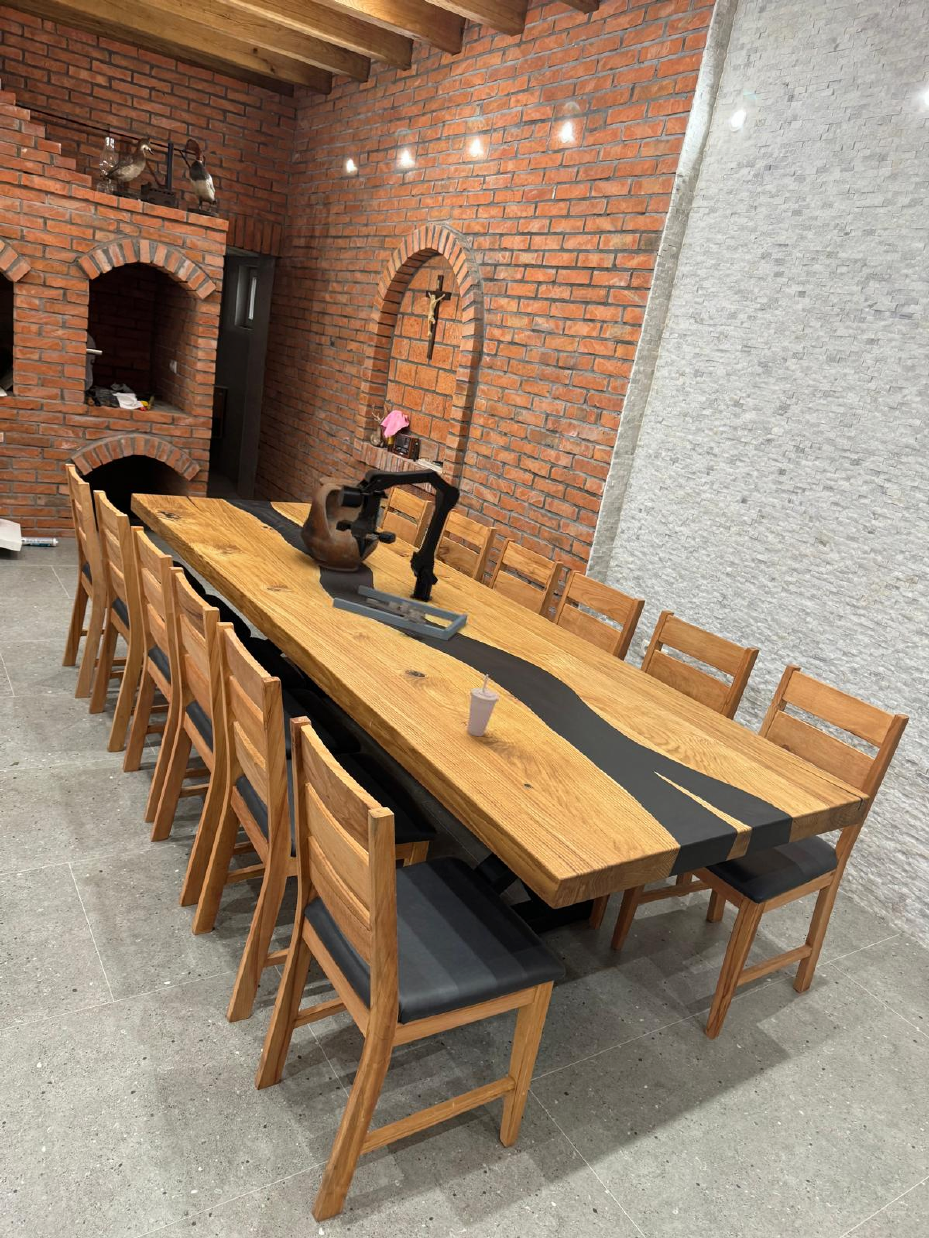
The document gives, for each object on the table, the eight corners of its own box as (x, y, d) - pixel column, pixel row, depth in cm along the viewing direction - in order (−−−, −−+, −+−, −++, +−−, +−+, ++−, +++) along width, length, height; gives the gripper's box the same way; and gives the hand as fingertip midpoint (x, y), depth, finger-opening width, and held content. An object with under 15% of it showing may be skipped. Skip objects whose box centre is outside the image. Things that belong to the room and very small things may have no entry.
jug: (360, 583, 278) (375, 497, 269) (282, 563, 280) (295, 477, 272) (383, 564, 309) (398, 486, 300) (313, 546, 311) (326, 469, 303)
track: (359, 592, 268) (361, 583, 267) (465, 623, 260) (467, 615, 259) (332, 606, 248) (334, 597, 247) (446, 640, 241) (448, 631, 240)
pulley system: (395, 613, 263) (359, 602, 252) (400, 599, 263) (364, 587, 252) (448, 636, 243) (410, 624, 232) (453, 621, 242) (416, 609, 232)
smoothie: (473, 723, 189) (486, 668, 185) (495, 735, 185) (509, 679, 181) (456, 729, 184) (469, 672, 180) (477, 741, 180) (491, 683, 176)
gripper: (332, 505, 253) (324, 553, 257) (388, 520, 249) (378, 569, 254) (347, 502, 263) (339, 548, 268) (400, 516, 259) (391, 563, 264)
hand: (361, 557), depth 263 cm, fingers closed
